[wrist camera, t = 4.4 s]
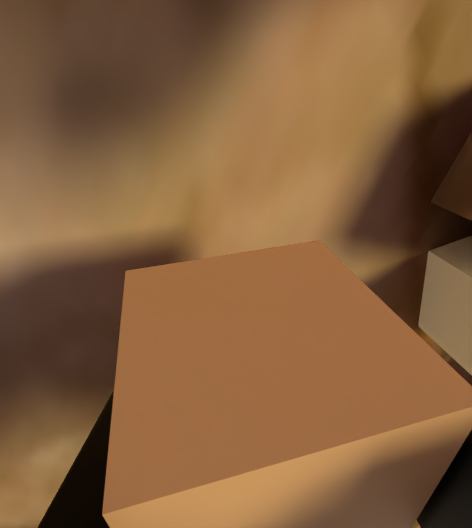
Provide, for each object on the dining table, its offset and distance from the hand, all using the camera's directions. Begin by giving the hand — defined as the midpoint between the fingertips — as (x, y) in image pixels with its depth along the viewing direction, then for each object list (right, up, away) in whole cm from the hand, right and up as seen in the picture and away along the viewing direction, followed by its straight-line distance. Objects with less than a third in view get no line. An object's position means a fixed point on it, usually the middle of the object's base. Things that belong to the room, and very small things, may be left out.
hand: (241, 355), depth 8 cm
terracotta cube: (0, 0, +1) cm, 1 cm away
